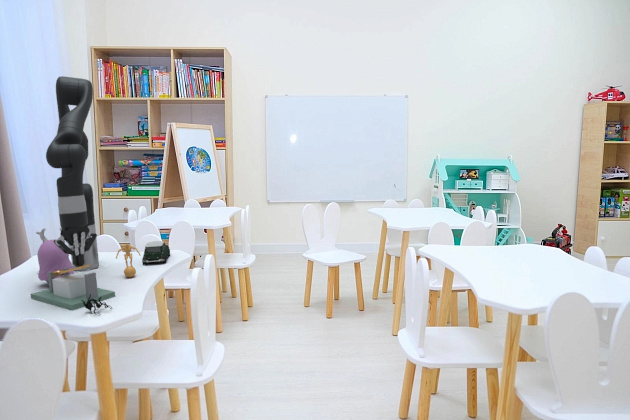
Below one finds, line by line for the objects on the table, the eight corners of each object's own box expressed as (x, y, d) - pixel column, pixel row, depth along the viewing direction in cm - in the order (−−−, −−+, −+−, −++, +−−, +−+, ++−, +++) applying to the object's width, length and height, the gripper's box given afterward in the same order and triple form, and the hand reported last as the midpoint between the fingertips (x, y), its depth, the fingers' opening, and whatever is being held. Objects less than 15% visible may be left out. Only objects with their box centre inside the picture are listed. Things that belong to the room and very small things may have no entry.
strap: (53, 277, 150) (51, 272, 150) (62, 275, 153) (60, 269, 153) (81, 270, 141) (79, 264, 141) (90, 268, 144) (88, 262, 144)
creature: (116, 310, 139) (89, 305, 138) (118, 293, 138) (91, 288, 137) (106, 320, 131) (77, 315, 130) (108, 301, 130) (79, 297, 130)
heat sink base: (31, 298, 148) (27, 270, 147) (73, 286, 160) (70, 260, 159) (72, 310, 136) (69, 280, 135) (115, 296, 148) (112, 268, 147)
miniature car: (170, 254, 204) (169, 236, 203) (165, 265, 187) (163, 245, 185) (149, 256, 203) (147, 238, 201) (141, 266, 185) (140, 246, 184)
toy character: (83, 281, 166) (77, 225, 163) (59, 290, 156) (52, 231, 154) (57, 279, 170) (51, 224, 167) (32, 287, 160) (25, 230, 158)
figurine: (118, 280, 166) (115, 247, 164) (117, 276, 171) (114, 244, 170) (143, 276, 170) (140, 244, 168) (141, 272, 175) (138, 241, 173)
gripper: (86, 207, 149) (91, 260, 152) (44, 213, 138) (50, 270, 141) (100, 208, 145) (106, 262, 148) (58, 214, 134) (65, 273, 137)
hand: (79, 266), depth 144 cm, fingers closed
